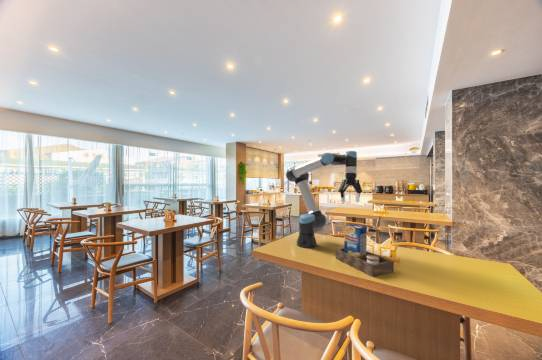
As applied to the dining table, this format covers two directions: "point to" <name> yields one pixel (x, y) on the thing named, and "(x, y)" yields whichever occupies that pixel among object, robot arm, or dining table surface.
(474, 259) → the dining table surface
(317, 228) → the robot arm
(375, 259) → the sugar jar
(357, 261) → the caddy
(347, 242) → the beverage box
